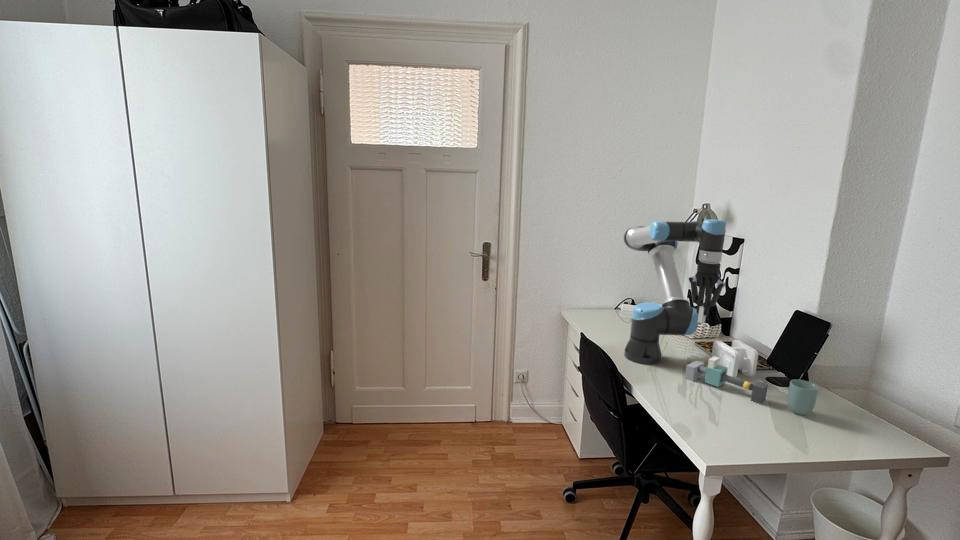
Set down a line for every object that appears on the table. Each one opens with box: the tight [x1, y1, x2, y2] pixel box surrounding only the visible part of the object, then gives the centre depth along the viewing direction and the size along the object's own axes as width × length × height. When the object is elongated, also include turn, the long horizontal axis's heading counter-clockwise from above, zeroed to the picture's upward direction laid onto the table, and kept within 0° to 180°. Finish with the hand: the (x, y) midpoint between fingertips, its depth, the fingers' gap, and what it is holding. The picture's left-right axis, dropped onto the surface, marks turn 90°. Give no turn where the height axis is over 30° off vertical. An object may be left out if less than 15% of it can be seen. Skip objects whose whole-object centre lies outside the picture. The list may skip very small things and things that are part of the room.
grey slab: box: [684, 360, 705, 382], centre depth 177 cm, size 3×8×5 cm, turn 129°
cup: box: [786, 378, 819, 416], centre depth 152 cm, size 8×8×10 cm
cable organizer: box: [710, 339, 759, 378], centre depth 182 cm, size 15×11×12 cm
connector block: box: [750, 380, 769, 405], centre depth 160 cm, size 3×5×6 cm, turn 129°
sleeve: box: [704, 356, 728, 388], centre depth 171 cm, size 5×6×9 cm
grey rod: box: [697, 366, 755, 392], centre depth 169 cm, size 21×3×3 cm, turn 39°
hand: (701, 322), depth 173 cm, fingers closed
